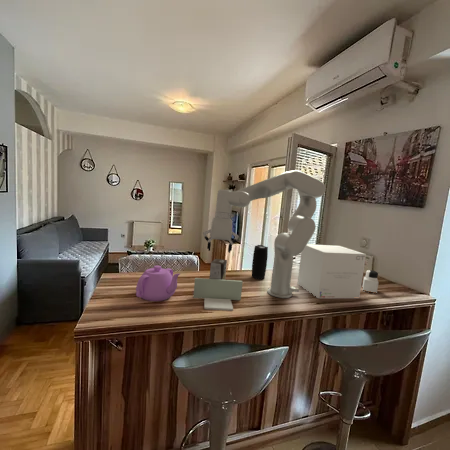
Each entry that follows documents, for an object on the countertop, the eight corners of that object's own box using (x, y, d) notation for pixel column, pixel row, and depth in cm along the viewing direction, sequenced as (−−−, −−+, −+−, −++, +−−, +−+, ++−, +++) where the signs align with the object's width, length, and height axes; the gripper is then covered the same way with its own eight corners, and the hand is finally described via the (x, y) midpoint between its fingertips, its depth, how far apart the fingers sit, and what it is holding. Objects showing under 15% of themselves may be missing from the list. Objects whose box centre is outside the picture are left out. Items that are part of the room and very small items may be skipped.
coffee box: (220, 297, 124) (223, 264, 123) (207, 295, 126) (210, 262, 124) (224, 290, 133) (227, 259, 131) (212, 288, 134) (215, 258, 133)
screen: (240, 299, 124) (242, 280, 123) (240, 300, 123) (242, 281, 122) (193, 296, 122) (194, 277, 121) (193, 297, 121) (194, 278, 120)
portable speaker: (251, 279, 156) (255, 246, 154) (250, 274, 165) (253, 244, 163) (266, 280, 156) (269, 248, 154) (264, 275, 165) (267, 245, 163)
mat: (230, 301, 121) (230, 299, 121) (232, 310, 111) (233, 308, 111) (204, 299, 120) (204, 297, 120) (204, 309, 110) (204, 307, 110)
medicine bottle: (375, 290, 157) (378, 270, 155) (376, 294, 150) (380, 273, 149) (362, 287, 160) (365, 268, 158) (362, 291, 153) (365, 271, 152)
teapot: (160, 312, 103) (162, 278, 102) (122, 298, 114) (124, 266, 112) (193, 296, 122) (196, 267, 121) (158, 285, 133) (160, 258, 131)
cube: (317, 299, 135) (324, 252, 132) (297, 284, 156) (302, 243, 153) (359, 299, 141) (366, 254, 138) (334, 285, 162) (339, 245, 159)
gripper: (239, 217, 130) (235, 251, 132) (204, 213, 128) (201, 248, 130) (242, 218, 122) (237, 254, 124) (204, 214, 121) (201, 251, 122)
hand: (219, 251), depth 127 cm, fingers open, 9 cm apart
